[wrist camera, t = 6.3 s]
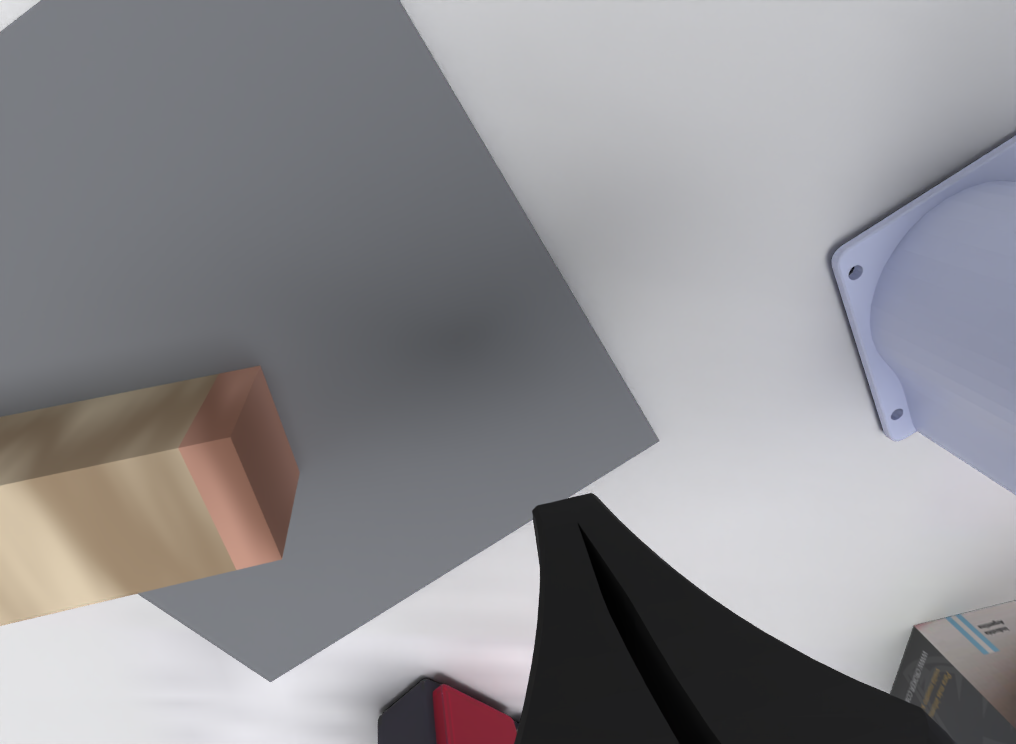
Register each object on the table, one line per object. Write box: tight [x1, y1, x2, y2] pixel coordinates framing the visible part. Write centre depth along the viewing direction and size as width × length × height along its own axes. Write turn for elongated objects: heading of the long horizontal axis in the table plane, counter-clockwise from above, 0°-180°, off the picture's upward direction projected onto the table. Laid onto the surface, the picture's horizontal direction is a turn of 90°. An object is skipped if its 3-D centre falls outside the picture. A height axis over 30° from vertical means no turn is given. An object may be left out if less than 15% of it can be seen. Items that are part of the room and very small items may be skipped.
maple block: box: [0, 366, 300, 626], centre depth 16 cm, size 4×4×8 cm
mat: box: [0, 0, 659, 682], centre depth 18 cm, size 20×18×1 cm
